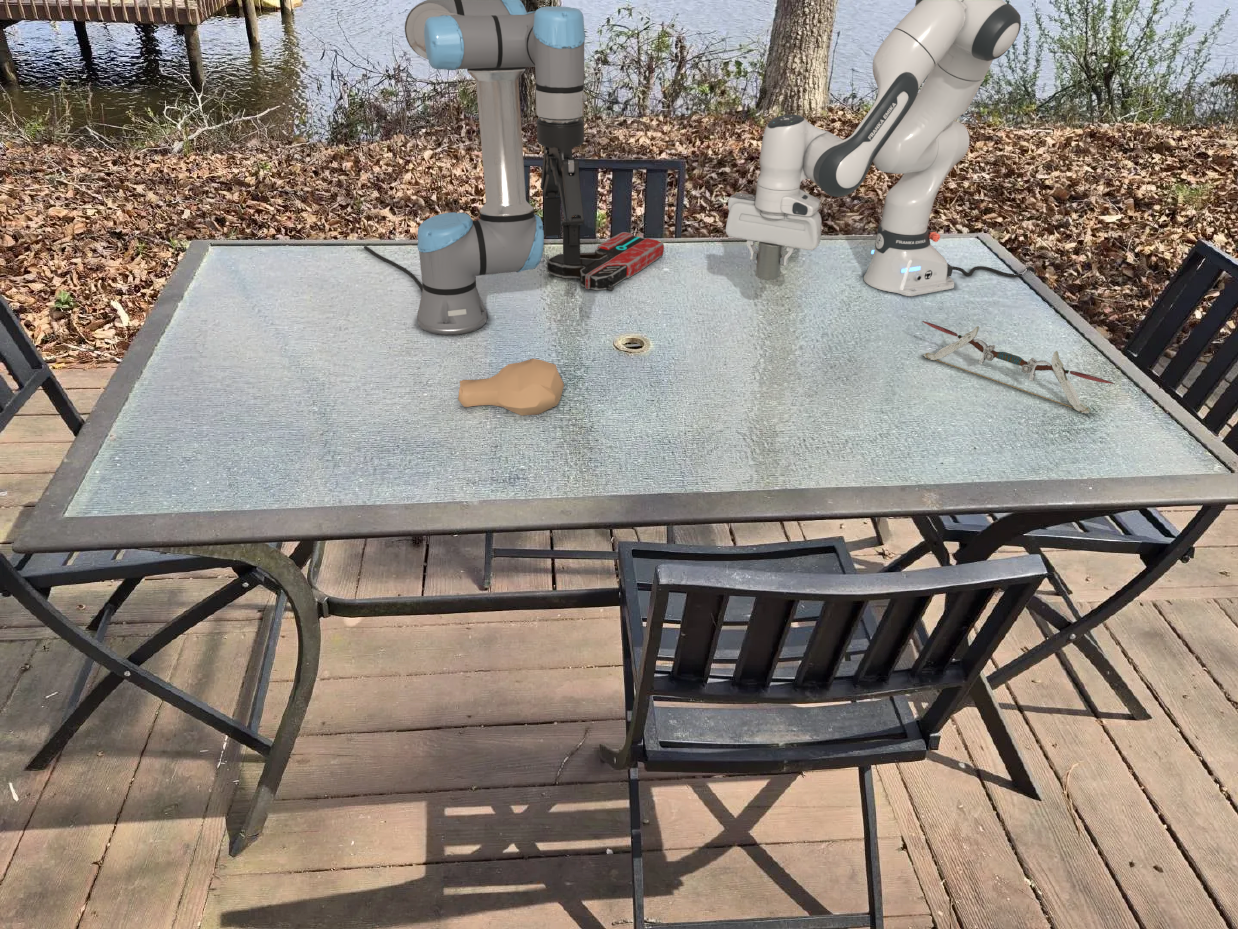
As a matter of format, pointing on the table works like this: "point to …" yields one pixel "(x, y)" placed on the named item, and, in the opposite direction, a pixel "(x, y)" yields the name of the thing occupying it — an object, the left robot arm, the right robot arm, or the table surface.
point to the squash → (516, 388)
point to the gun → (609, 261)
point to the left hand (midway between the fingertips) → (561, 248)
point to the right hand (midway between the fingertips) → (769, 262)
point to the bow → (1026, 366)
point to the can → (768, 261)
